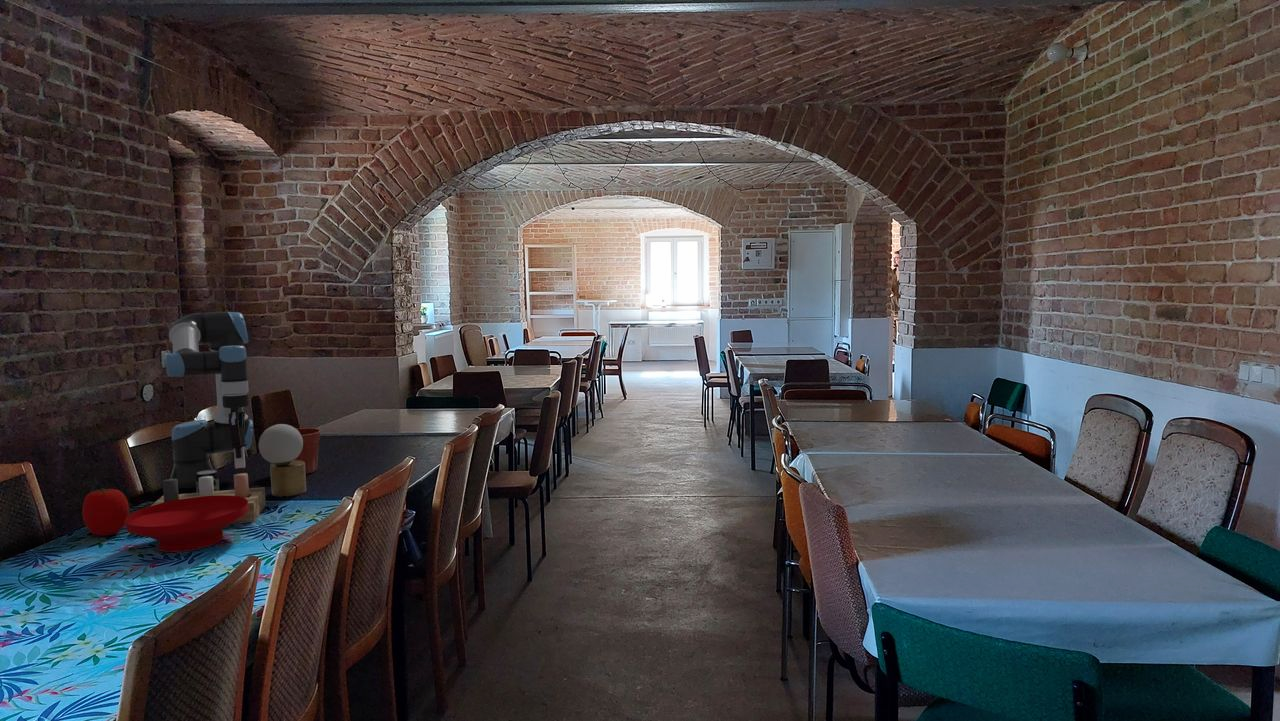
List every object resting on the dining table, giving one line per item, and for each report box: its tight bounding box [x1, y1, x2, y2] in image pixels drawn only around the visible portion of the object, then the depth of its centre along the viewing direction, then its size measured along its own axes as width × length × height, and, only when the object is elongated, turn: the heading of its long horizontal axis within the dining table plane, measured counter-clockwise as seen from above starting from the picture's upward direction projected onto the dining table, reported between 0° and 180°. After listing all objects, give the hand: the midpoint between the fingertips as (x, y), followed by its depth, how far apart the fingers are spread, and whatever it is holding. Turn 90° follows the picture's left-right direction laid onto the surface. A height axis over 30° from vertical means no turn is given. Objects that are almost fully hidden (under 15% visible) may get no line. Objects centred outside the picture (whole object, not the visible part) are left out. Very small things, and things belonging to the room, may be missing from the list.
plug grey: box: [199, 476, 214, 497], centre depth 244 cm, size 4×4×9 cm
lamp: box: [258, 423, 307, 498], centre depth 271 cm, size 15×14×25 cm
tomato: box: [81, 487, 130, 537], centre depth 230 cm, size 13×11×14 cm
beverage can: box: [195, 469, 220, 493], centre depth 257 cm, size 7×7×12 cm
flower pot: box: [294, 427, 322, 475], centre depth 305 cm, size 16×16×16 cm
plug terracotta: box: [233, 472, 249, 498], centre depth 247 cm, size 4×4×9 cm
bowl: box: [124, 495, 249, 553], centre depth 220 cm, size 30×30×10 cm
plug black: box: [162, 478, 179, 502], centre depth 241 cm, size 4×4×9 cm
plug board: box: [150, 486, 267, 525], centre depth 245 cm, size 20×30×6 cm, turn 107°
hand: (240, 467), depth 247 cm, fingers closed
